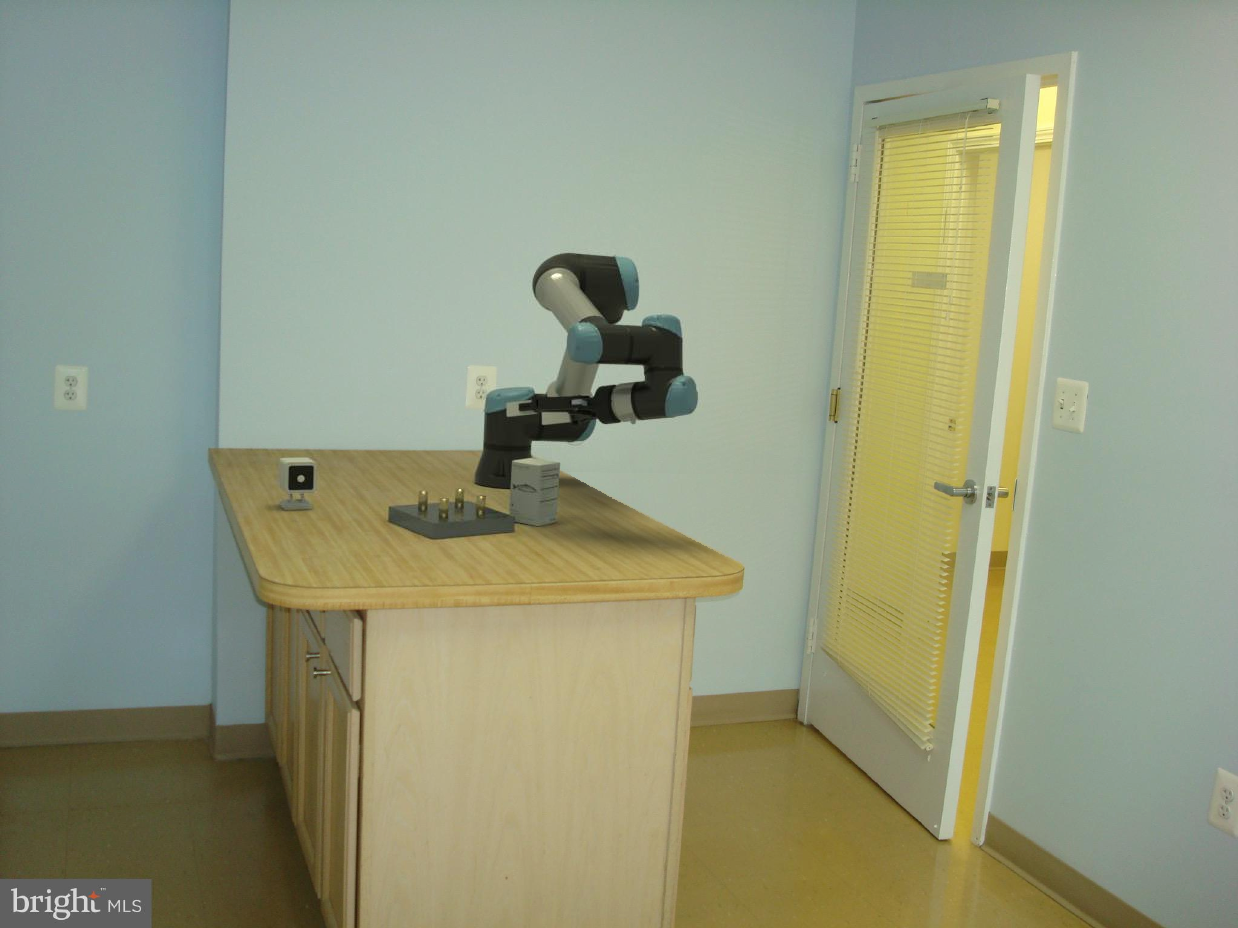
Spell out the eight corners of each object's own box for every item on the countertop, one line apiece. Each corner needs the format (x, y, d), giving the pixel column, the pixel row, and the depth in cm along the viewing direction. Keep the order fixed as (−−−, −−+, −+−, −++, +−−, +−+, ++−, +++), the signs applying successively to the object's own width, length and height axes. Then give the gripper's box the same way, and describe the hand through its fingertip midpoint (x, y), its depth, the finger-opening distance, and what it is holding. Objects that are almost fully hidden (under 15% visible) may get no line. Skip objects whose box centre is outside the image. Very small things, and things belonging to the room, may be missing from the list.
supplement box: (507, 521, 235) (510, 460, 234) (529, 516, 242) (531, 457, 240) (537, 527, 232) (540, 464, 230) (558, 522, 238) (561, 461, 236)
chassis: (467, 514, 240) (468, 483, 239) (514, 531, 226) (516, 498, 225) (388, 521, 228) (389, 488, 228) (432, 539, 215) (433, 504, 214)
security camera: (284, 511, 232) (285, 462, 231) (277, 505, 238) (278, 457, 237) (316, 510, 235) (317, 461, 233) (308, 504, 241) (309, 456, 240)
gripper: (589, 414, 213) (492, 425, 222) (647, 429, 235) (557, 439, 244) (588, 374, 214) (491, 386, 223) (646, 393, 236) (556, 404, 245)
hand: (525, 414), depth 234 cm, fingers open, 13 cm apart
